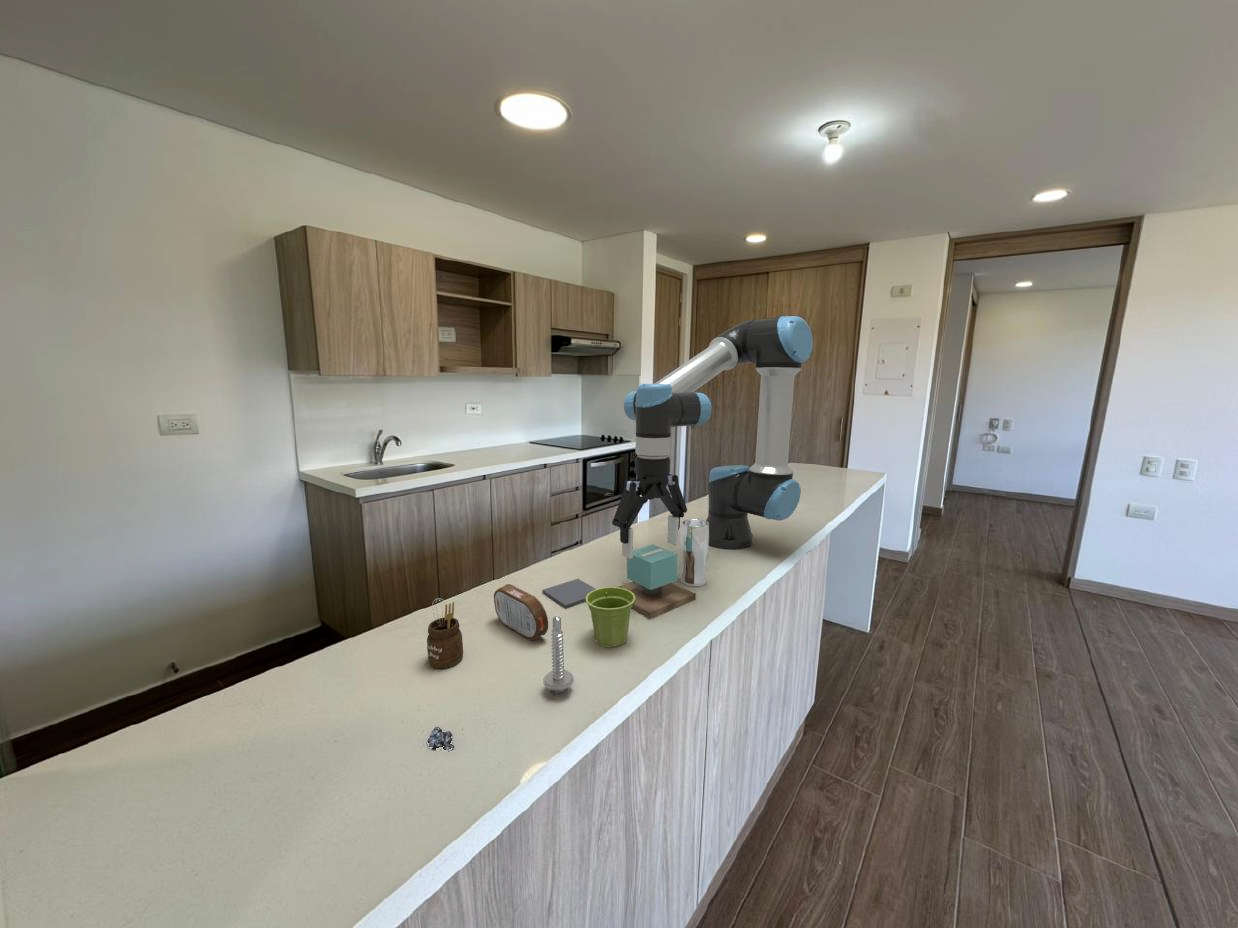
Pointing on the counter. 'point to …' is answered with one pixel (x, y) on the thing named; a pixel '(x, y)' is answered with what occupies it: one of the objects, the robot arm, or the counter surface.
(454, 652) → the utensil holder
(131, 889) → the counter surface
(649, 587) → the striped light blue box
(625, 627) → the plant pot
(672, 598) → the brown square stand
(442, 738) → the grey irregular lump
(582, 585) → the mat
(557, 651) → the screw
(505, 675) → the counter surface
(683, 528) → the beer glass
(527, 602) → the tin
